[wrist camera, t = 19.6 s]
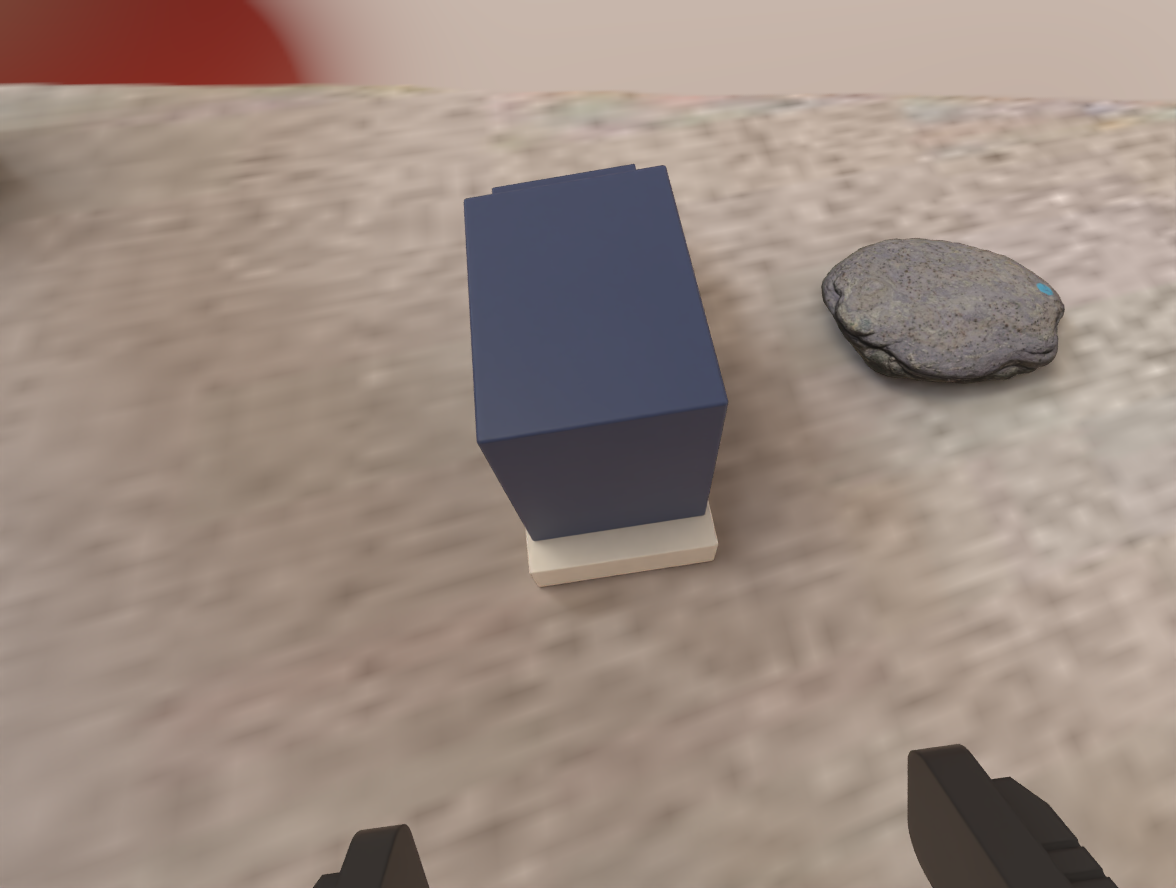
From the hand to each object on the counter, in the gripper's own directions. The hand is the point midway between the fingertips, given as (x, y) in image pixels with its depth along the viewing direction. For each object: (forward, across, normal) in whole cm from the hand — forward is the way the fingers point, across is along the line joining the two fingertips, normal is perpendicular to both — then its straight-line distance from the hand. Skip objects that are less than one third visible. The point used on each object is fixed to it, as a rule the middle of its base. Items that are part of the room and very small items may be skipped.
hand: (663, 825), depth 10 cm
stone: (+17, +13, +4) cm, 22 cm away
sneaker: (+16, 0, +3) cm, 16 cm away
